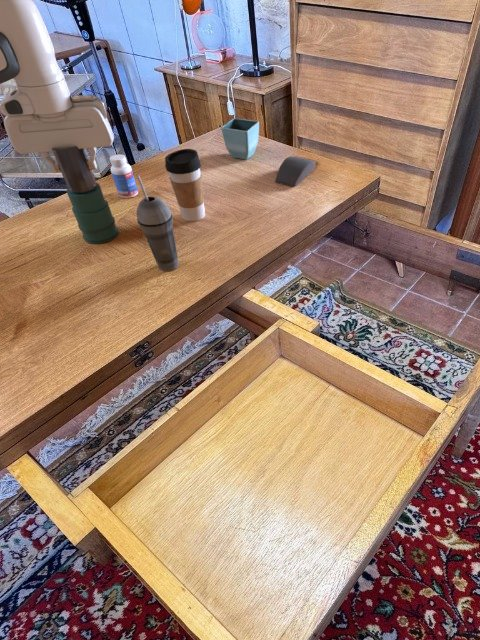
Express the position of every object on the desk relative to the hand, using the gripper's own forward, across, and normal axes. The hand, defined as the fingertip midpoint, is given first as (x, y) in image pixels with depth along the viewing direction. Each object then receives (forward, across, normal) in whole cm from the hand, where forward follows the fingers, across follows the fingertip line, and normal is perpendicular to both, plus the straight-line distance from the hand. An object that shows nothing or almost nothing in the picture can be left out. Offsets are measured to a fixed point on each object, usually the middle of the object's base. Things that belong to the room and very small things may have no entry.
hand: (75, 170), depth 98 cm
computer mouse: (+16, -53, -23) cm, 60 cm away
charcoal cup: (+4, 0, 0) cm, 4 cm away
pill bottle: (+16, -5, -21) cm, 27 cm away
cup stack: (+16, 0, 0) cm, 16 cm away
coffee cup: (+16, -23, -5) cm, 28 cm away
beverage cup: (+16, -17, +17) cm, 29 cm away
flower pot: (+16, -39, -40) cm, 58 cm away
